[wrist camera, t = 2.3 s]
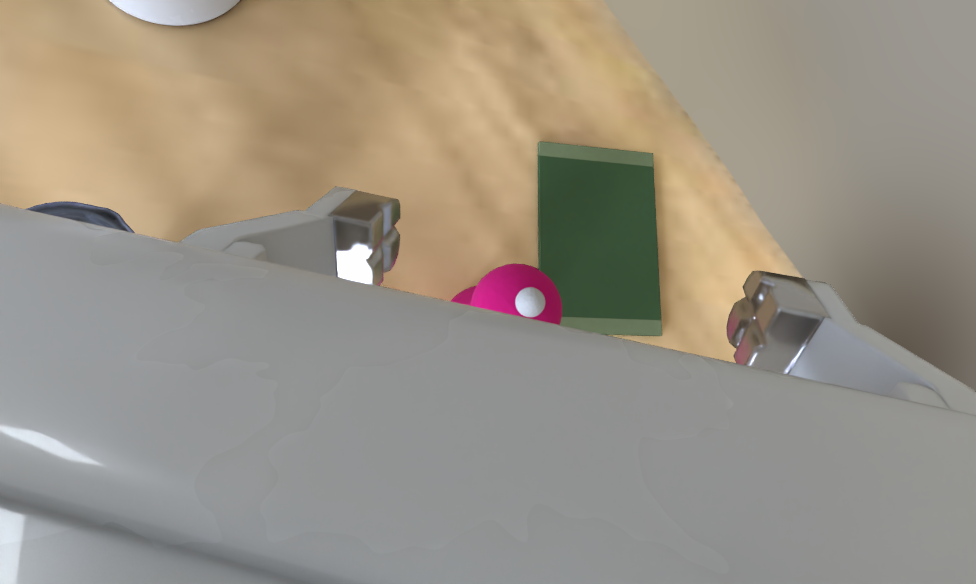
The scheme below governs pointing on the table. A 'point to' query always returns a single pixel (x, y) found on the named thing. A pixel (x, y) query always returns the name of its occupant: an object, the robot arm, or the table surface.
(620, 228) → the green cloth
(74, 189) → the table surface
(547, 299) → the pepper mill
